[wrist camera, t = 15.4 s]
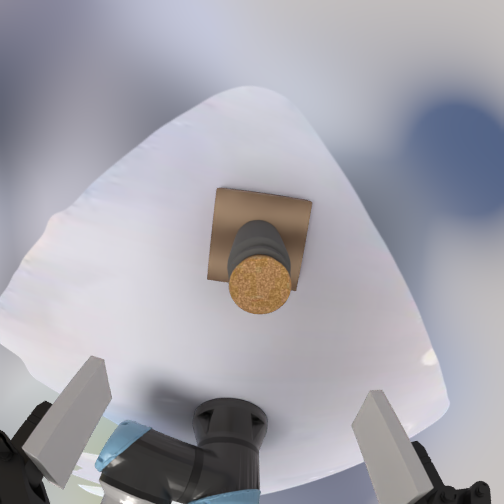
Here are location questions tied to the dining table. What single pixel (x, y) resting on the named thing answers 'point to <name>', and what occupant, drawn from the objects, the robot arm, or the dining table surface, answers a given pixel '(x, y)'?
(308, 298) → the dining table surface
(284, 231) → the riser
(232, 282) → the bottle
